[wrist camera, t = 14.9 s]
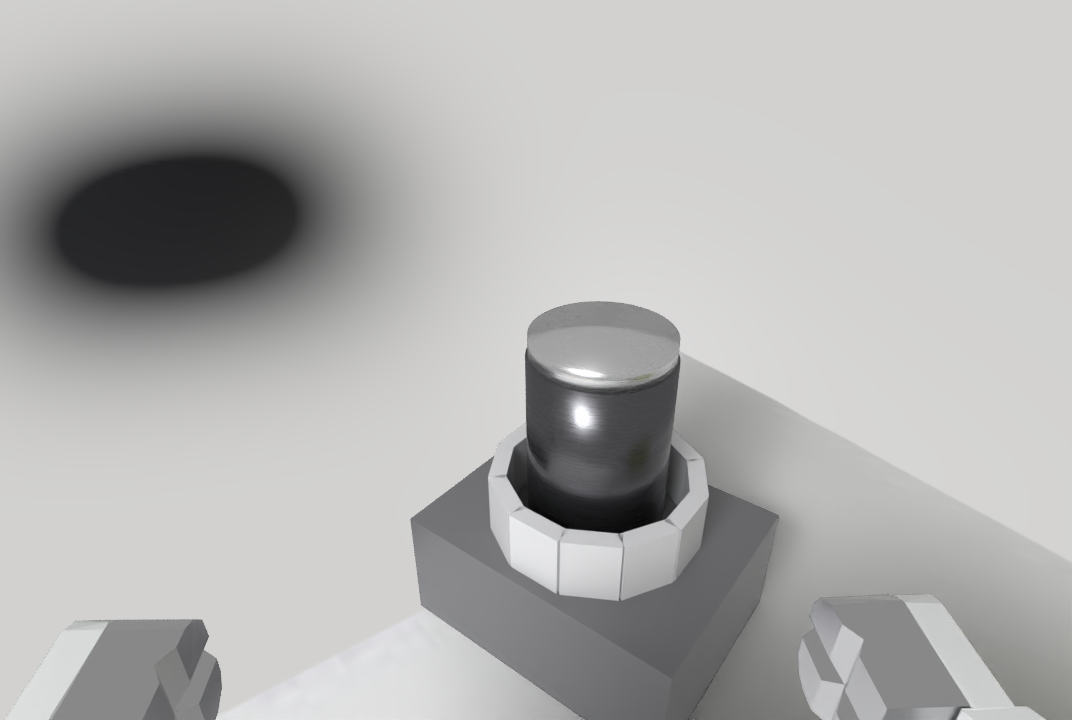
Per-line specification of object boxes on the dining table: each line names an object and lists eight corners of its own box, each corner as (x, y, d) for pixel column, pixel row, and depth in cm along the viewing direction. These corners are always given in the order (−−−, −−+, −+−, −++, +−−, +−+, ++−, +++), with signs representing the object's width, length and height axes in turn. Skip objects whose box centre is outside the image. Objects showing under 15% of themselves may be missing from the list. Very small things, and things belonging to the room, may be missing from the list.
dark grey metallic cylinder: (500, 526, 32) (492, 340, 27) (576, 459, 37) (582, 289, 32) (616, 591, 29) (631, 392, 24) (685, 508, 33) (709, 325, 28)
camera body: (421, 605, 36) (404, 469, 31) (546, 493, 43) (547, 372, 39) (658, 770, 28) (680, 624, 24) (759, 601, 36) (790, 466, 31)
